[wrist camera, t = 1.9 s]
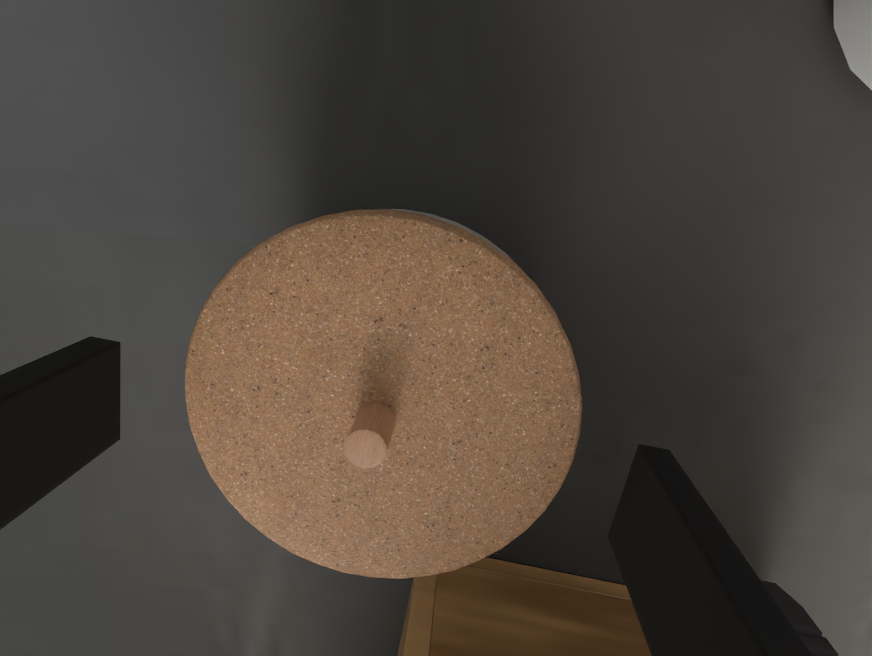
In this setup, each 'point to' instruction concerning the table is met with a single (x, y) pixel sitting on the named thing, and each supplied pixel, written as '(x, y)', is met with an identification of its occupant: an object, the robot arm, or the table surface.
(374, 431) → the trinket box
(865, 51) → the supplement can
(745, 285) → the table surface
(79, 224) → the table surface
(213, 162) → the table surface
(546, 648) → the chest
